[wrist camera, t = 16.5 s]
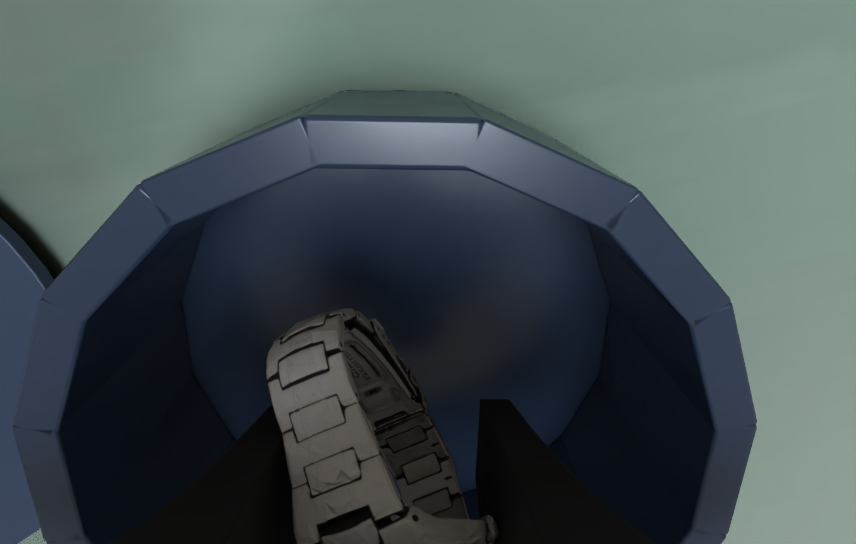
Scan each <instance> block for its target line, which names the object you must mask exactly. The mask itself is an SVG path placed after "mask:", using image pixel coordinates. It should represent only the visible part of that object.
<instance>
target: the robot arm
mask: <svg viewBox="0 0 856 544" xmlns="http://www.w3.org/2000/svg"><path fill="white" fill-rule="evenodd" d="M475 478H476V488H477V499H478V508H479V517H480V518H482V517H484V516H486V515H490V516H492V517H493V520H494V521H495V522H496V525H497V528H498V532H499V534H498V537H497V538H496V539H495V543H494V544H656V543H655V542H653V541H652V540H651V539H649V538H648V537H646V536H645V535H643V534H642V533H641V532H639V531H638V530H637V529H635V528H634V527H633V526H631V525H630V524H629V523H628V522H626V521H625V520H624V519H623V518H621V517H620V516H619V515H618V514H617V513H615V512H614V511H613V510H612V509H611V508H609V507H608V506H607V505H606V504H605V503H603V502H602V501H601V500H600V499H599V498H598V497H596V496H595V495H594V494H593V493H592V492H591V491H590V490H589V489H588V488H587V487H586V486H585V485H584V484H583V483H582V482H581V481H580V480H579V479H578V478H577V477H576V476H575V475H574V474H573V473H572V472H571V471H570V470H569V469H568V468H567V467H566V466H565V465H564V464H563V463H562V462H561V461H560V460H559V458H558V457H557V456H556V455H555V454H554V453H553V452H552V451H551V450H550V448H549V447H548V446H547V445H546V444H545V443H544V442H543V440H542V439H541V438H540V437H539V436H538V435H537V433H536V432H535V431H534V430H533V428H532V427H531V426H530V425H529V424H528V422H527V421H526V420H525V419H524V417H523V416H522V415H521V413H520V412H519V411H518V410H517V408H516V407H515V406H514V404H513V403H512V402H511V401H510V400H509V399H480V410H479V426H478V442H477V458H476V473H475ZM110 544H297V541H296V538H295V534H294V524H293V505H292V484H291V481H290V476H289V472H288V467H287V460H286V453H285V447H284V441H283V435H282V432H281V429H280V426H279V424H278V421H277V418H276V415H275V412H274V408H273V404H271V405H270V406H269V407H268V408H267V409H266V410H265V411H264V412H263V414H262V415H261V416H260V417H259V418H258V419H257V420H256V421H255V422H254V423H253V424H252V425H251V426H250V427H249V428H248V429H247V430H246V431H245V433H244V434H243V435H242V436H241V437H240V438H239V439H238V440H237V441H236V442H235V443H234V444H233V445H232V446H231V447H230V448H229V449H228V450H227V451H226V452H225V453H224V454H223V455H222V456H221V457H220V458H219V459H218V460H216V461H215V462H214V463H213V464H212V465H211V466H210V467H209V468H208V469H207V470H206V471H205V472H203V473H202V474H201V475H200V476H199V477H198V478H197V479H196V480H194V481H193V482H192V483H191V484H190V485H189V486H188V487H187V488H186V489H184V490H183V491H182V492H181V493H180V494H178V495H177V496H176V497H175V498H173V499H172V500H171V501H170V502H168V503H167V504H166V505H165V506H163V507H162V508H160V509H159V510H158V511H156V512H155V513H154V514H152V515H151V516H150V517H148V518H147V519H146V520H144V521H143V522H142V523H140V524H139V525H137V526H136V527H135V528H133V529H132V530H130V531H128V532H127V533H125V534H124V535H122V536H121V537H119V538H118V539H116V540H115V541H113V542H112V543H110Z"/></svg>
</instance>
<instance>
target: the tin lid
mask: <svg viewBox="0 0 856 544" xmlns="http://www.w3.org/2000/svg"><path fill="white" fill-rule="evenodd" d="M53 281H54V279H53V277H52V276H51V274H50V273H49V271H48V270H47V268H46V267H45V266H44V264H43V263H42V262H41V261H40V260H39V258H38V257H37V256H36V255H35V254H34V253H33V251H32V250H31V249H30V248H29V247H28V245H27V244H26V243H25V242H24V241H23V239H22V238H21V237H20V236H19V235H18V234H17V233H16V232H15V231H14V230H13V229H12V228H11V227H10V226H9V225H8V224H7V223H5V222H4V221H3V220H2V219H1V218H0V544H18V543H19V542H21V541H22V540H24V539H25V538H27V537H28V536H29V535H31V534H32V533H34V532H35V531H37V530H38V529H39V528H40V524H39V521H38V517H37V514H36V511H35V507H34V504H33V500H32V497H31V493H30V490H29V486H28V483H27V480H26V476H25V473H24V469H23V466H22V462H21V459H20V456H19V452H18V449H17V445H16V442H15V438H14V435H13V431H12V426H13V423H12V422H13V418H14V413H15V408H16V404H17V399H18V395H19V390H20V385H21V381H22V376H23V372H24V367H25V362H26V358H27V353H28V349H29V344H30V340H31V335H32V330H33V326H34V321H35V317H36V312H37V307H38V303H39V300H40V299H41V298H42V295H43V293H44V291H45V290H46V289H47V288H48V286H49V285H50V284H51V283H52V282H53Z"/></svg>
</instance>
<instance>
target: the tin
mask: <svg viewBox="0 0 856 544" xmlns="http://www.w3.org/2000/svg"><path fill="white" fill-rule="evenodd" d="M339 309H354V310H356V311H359V312H361V313H362V314H364V315H365V316H366V317H367V318H368V319H371V318H375V319H376V320H377V321H378V322H379V323H380V324H381V326H382V327H384V331H385V333H386V335H387V336H388V338H389V340H390V341H391V343H392V345H393V346H394V348H395V350H396V351H397V353H398V355H399V356H400V358H402V359H403V360H404V361H406V363H407V364H408V366H409V367H410V369H411V371H412V372H413V374H414V376H415V378H416V380H417V382H418V385H419V387H420V388H421V390H422V391H423V393H424V395H425V397H426V400H427V402H428V413H429V415H430V417H431V418H432V420H433V422H434V423H435V425H436V427H437V429H438V431H439V433H440V434H441V436H442V438H443V439H444V441H445V442H446V444H447V446H448V450H449V452H450V454H451V456H452V458H453V460H454V464H455V467H456V471H457V476H458V481H459V484H460V488H461V491H462V496H463V498H464V502H465V505H466V509H467V512H468V516H469V519H470V520H476V519H479V518H480V517H479V508H478V499H477V488H476V478H475V473H476V458H477V442H478V426H479V410H480V399H509V400H510V401H511V402H512V403H513V404H514V406H515V407H516V408H517V410H518V411H519V412H520V413H521V415H522V416H523V417H524V419H525V420H526V421H527V422H528V424H529V425H530V426H531V427H532V428H533V430H534V431H535V432H536V433H537V435H538V436H539V437H540V438H541V439H542V440H543V442H544V443H545V444H546V445H547V446H548V447H549V448H550V450H551V451H552V452H553V453H554V454H555V455H556V456H557V457H558V458H559V460H560V461H561V462H562V463H563V464H564V465H565V466H566V467H567V468H568V469H569V470H570V471H571V472H572V473H573V474H574V475H575V476H576V477H577V478H578V479H579V480H580V481H581V482H582V483H583V484H584V485H585V486H586V487H587V488H588V489H589V490H590V491H591V492H592V493H593V494H594V495H595V496H596V497H598V498H599V499H600V500H601V501H602V502H603V503H605V504H606V505H607V506H608V507H609V508H611V509H612V510H613V511H614V512H615V513H617V514H618V515H619V516H620V517H621V518H623V519H624V520H625V521H626V522H628V523H629V524H630V525H631V526H633V527H634V528H635V529H637V530H638V531H639V532H641V533H642V534H643V535H645V536H646V537H648V538H649V539H651V540H652V541H653V542H655V543H656V544H721V543H722V542H723V541H724V539H725V538H726V534H727V533H728V531H729V527H730V524H731V520H732V516H733V513H734V509H735V505H736V502H737V498H738V494H739V491H740V487H741V483H742V480H743V476H744V472H745V469H746V465H747V461H748V458H749V454H750V450H751V447H752V443H753V439H754V436H755V432H756V423H757V420H756V415H755V410H754V405H753V401H752V396H751V391H750V386H749V382H748V377H747V372H746V367H745V363H744V358H743V353H742V349H741V344H740V339H739V334H738V330H737V325H736V320H735V315H734V311H733V306H732V303H731V301H730V298H729V297H728V295H727V294H726V293H725V292H724V291H723V289H722V288H721V287H720V286H719V285H718V283H717V282H716V281H715V280H714V279H713V277H712V276H711V275H710V274H709V273H708V271H707V270H706V269H705V268H704V267H703V265H702V264H701V263H700V262H699V261H698V259H697V258H696V257H695V256H694V254H693V253H692V252H691V251H690V250H689V248H688V247H687V246H686V245H685V244H684V242H683V241H682V240H681V239H680V238H679V236H678V235H677V234H676V233H675V232H674V230H673V229H672V228H671V227H670V226H669V224H668V223H667V222H666V221H665V220H664V218H663V217H662V216H661V215H660V214H659V212H658V211H657V210H656V209H655V208H654V206H653V205H652V204H651V203H650V202H649V200H648V199H647V198H646V197H645V196H644V194H643V193H642V192H641V191H639V190H638V189H637V188H636V187H635V186H633V185H631V184H630V183H628V182H626V181H625V180H623V179H621V178H619V177H618V176H616V175H614V174H613V173H611V172H609V171H608V170H606V169H604V168H602V167H601V166H599V165H597V164H596V163H594V162H592V161H591V160H589V159H587V158H586V157H584V156H582V155H580V154H579V153H577V152H575V151H574V150H572V149H570V148H569V147H567V146H565V145H563V144H562V143H560V142H558V141H557V140H555V139H553V138H552V137H550V136H548V135H546V134H544V133H541V132H539V131H537V130H535V129H533V128H531V127H528V126H526V125H524V124H522V123H520V122H518V121H515V120H513V119H511V118H509V117H507V116H505V115H503V114H501V113H499V112H496V111H494V110H492V109H489V108H487V107H485V106H483V105H481V104H479V103H476V102H474V101H472V100H470V99H468V98H466V97H463V96H461V95H459V94H457V93H454V94H453V93H451V92H415V91H404V90H392V91H351V90H348V91H345V92H344V91H341V92H338V93H336V94H334V95H331V96H329V97H326V98H324V99H322V100H319V101H317V102H315V103H312V104H310V105H307V106H305V107H303V108H300V109H297V110H295V111H293V112H291V113H288V114H286V115H283V116H281V117H279V118H276V119H274V120H271V121H269V122H267V123H264V124H262V125H260V126H257V127H255V128H252V129H250V130H248V131H245V132H243V133H241V134H239V135H237V136H235V137H233V138H231V139H229V140H226V141H224V142H222V143H220V144H218V145H216V146H214V147H212V148H210V149H208V150H206V151H203V152H201V153H199V154H197V155H195V156H193V157H191V158H189V159H187V160H185V161H182V162H180V163H178V164H176V165H174V166H172V167H170V168H168V169H166V170H164V171H162V172H159V173H157V174H155V175H153V176H151V177H149V178H147V179H145V180H143V181H142V182H141V184H139V185H137V186H136V187H135V188H134V190H133V191H132V192H131V193H130V194H129V195H128V196H127V198H126V199H125V200H124V201H123V202H122V203H121V204H120V205H119V207H118V208H117V209H116V210H115V211H114V212H113V213H112V215H111V216H110V217H109V218H108V219H107V220H106V221H105V223H104V224H103V225H102V226H101V227H100V228H99V229H98V231H97V232H96V233H95V234H94V235H93V236H92V237H91V239H90V240H89V241H88V242H87V243H86V244H85V245H84V247H83V248H82V249H81V250H80V251H79V252H78V253H77V255H76V256H75V257H74V258H73V259H72V260H71V261H70V262H69V264H68V265H67V266H66V267H65V268H64V269H63V270H62V272H61V273H60V274H59V275H58V276H57V277H56V278H55V280H54V281H53V282H52V283H51V284H50V285H49V286H48V288H47V289H46V290H45V291H44V293H43V295H42V298H41V299H40V300H39V303H38V307H37V312H36V317H35V321H34V326H33V330H32V335H31V340H30V344H29V349H28V353H27V358H26V362H25V367H24V372H23V376H22V381H21V385H20V390H19V395H18V399H17V404H16V408H15V413H14V418H13V422H12V423H13V426H12V431H13V435H14V438H15V442H16V445H17V449H18V452H19V456H20V459H21V462H22V466H23V469H24V473H25V476H26V480H27V483H28V486H29V490H30V493H31V497H32V500H33V504H34V507H35V511H36V514H37V517H38V521H39V524H40V528H41V531H42V535H43V538H44V540H45V541H47V544H110V543H112V542H113V541H115V540H116V539H118V538H119V537H121V536H122V535H124V534H125V533H127V532H128V531H130V530H132V529H133V528H135V527H136V526H137V525H139V524H140V523H142V522H143V521H144V520H146V519H147V518H148V517H150V516H151V515H152V514H154V513H155V512H156V511H158V510H159V509H160V508H162V507H163V506H165V505H166V504H167V503H168V502H170V501H171V500H172V499H173V498H175V497H176V496H177V495H178V494H180V493H181V492H182V491H183V490H184V489H186V488H187V487H188V486H189V485H190V484H191V483H192V482H193V481H194V480H196V479H197V478H198V477H199V476H200V475H201V474H202V473H203V472H205V471H206V470H207V469H208V468H209V467H210V466H211V465H212V464H213V463H214V462H215V461H216V460H218V459H219V458H220V457H221V456H222V455H223V454H224V453H225V452H226V451H227V450H228V449H229V448H230V447H231V446H232V445H233V444H234V443H235V442H236V441H237V440H238V439H239V438H240V437H241V436H242V435H243V434H244V433H245V431H246V430H247V429H248V428H249V427H250V426H251V425H252V424H253V423H254V422H255V421H256V420H257V419H258V418H259V417H260V416H261V415H262V414H263V412H264V411H265V410H266V409H267V408H268V407H269V406H270V405H271V404H272V400H271V395H270V391H269V386H268V381H267V375H266V370H267V356H268V352H269V350H270V349H271V347H272V345H273V342H274V341H275V340H276V339H277V338H278V337H280V336H281V335H282V334H284V333H285V332H287V331H288V330H289V329H290V328H292V327H293V326H294V325H295V324H296V323H297V322H300V321H302V320H305V319H307V318H310V317H312V316H315V315H317V314H322V313H327V312H331V311H335V310H339ZM380 453H381V450H380ZM381 455H382V453H381ZM382 457H383V455H382ZM383 458H384V457H383ZM384 460H385V459H384ZM385 462H386V461H385ZM386 464H387V463H386ZM387 466H388V465H387ZM388 469H389V467H388ZM389 471H390V473H391V475H392V477H393V480H394V482H395V485H396V487H397V489H398V492H399V494H400V491H399V488H398V485H397V482H396V478H395V476H394V475H393V473H392V472H391V470H390V469H389ZM400 496H401V494H400Z"/></svg>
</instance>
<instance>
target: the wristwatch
mask: <svg viewBox="0 0 856 544" xmlns="http://www.w3.org/2000/svg"><path fill="white" fill-rule="evenodd" d="M266 375H267V381H268V386H269V391H270V395H271V400H272V404H273V408H274V412H275V415H276V418H277V421H278V424H279V426H280V429H281V432H282V435H283V441H284V447H285V453H286V460H287V467H288V472H289V476H290V481H291V484H292V505H293V524H294V534H295V538H296V541H297V544H494V543H495V539H496V538H497V537H498V534H499V532H498V528H497V525H496V522H495V521H494V520H493V517H492V516H490V515H486V516H484V517H482V518H479V519H476V520H470V519H469V516H468V512H467V509H466V505H465V502H464V498H463V496H462V491H461V488H460V484H459V481H458V476H457V471H456V467H455V464H454V460H453V458H452V456H451V454H450V452H449V450H448V446H447V444H446V442H445V441H444V439H443V438H442V436H441V434H440V433H439V431H438V429H437V427H436V425H435V423H434V422H433V420H432V418H431V417H430V415H429V413H428V402H427V400H426V397H425V395H424V393H423V391H422V390H421V388H420V387H419V385H418V382H417V380H416V378H415V376H414V374H413V372H412V371H411V369H410V367H409V366H408V364H407V363H406V361H404V360H403V359H402V358H400V356H399V355H398V353H397V351H396V350H395V348H394V346H393V345H392V343H391V341H390V340H389V338H388V336H387V335H386V333H385V331H384V327H382V326H381V324H380V323H379V322H378V321H377V320H376V319H375V318H371V319H368V318H367V317H366V316H365V315H364V314H362V313H361V312H359V311H356V310H354V309H339V310H335V311H331V312H327V313H322V314H317V315H315V316H312V317H310V318H307V319H305V320H302V321H300V322H297V323H296V324H295V325H294V326H293V327H292V328H290V329H289V330H288V331H287V332H285V333H284V334H282V335H281V336H280V337H278V338H277V339H276V340H275V341H274V342H273V345H272V347H271V349H270V350H269V352H268V356H267V370H266ZM380 450H381V453H382V455H383V457H384V458H383V457H382V455H381V453H380ZM384 459H385V460H384ZM385 461H386V462H385ZM386 463H387V464H386ZM387 465H388V466H387ZM388 467H389V469H390V470H391V472H392V473H393V475H394V476H395V478H396V482H397V485H398V488H399V491H400V494H401V496H400V494H399V492H398V489H397V487H396V485H395V482H394V480H393V477H392V475H391V473H390V471H389V469H388Z"/></svg>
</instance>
